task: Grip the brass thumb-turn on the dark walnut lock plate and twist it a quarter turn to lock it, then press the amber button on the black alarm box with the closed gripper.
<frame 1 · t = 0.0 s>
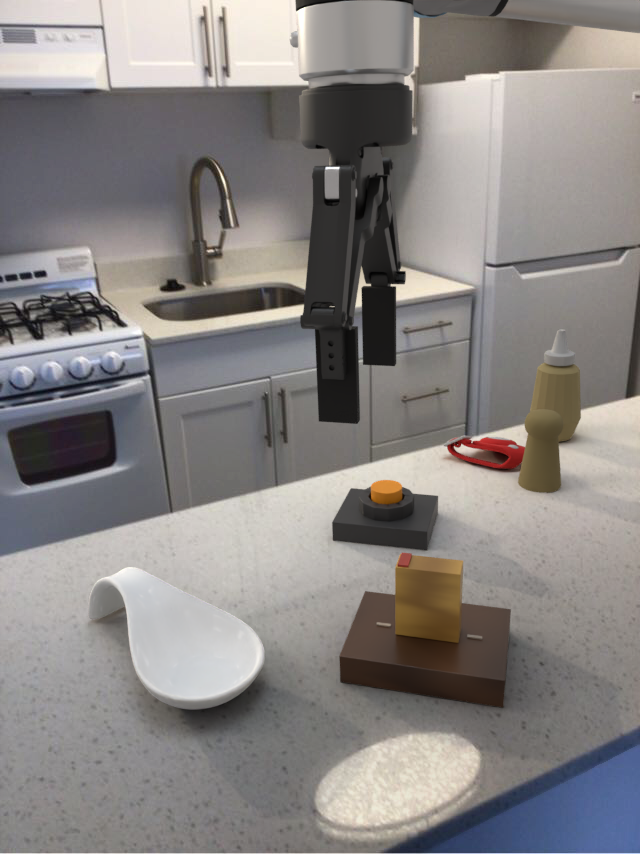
hand: (361, 390, 57), 30 cm above the worktop, tool pointing down, fingers open, 13 cm apart
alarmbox: (386, 526, 99), on the worktop
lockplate: (428, 656, 74), on the worktop
alarm button: (386, 492, 97), point 5 cm above the worktop, slide at 0.1 cm
squeeze bottle: (553, 437, 125), on the worktop
spoon rest: (167, 660, 75), on the worktop
red looped piece: (486, 459, 118), on the worktop
thumbturn: (428, 596, 72), point 7 cm above the worktop, hinge at 0.0°
tan pawn: (539, 485, 109), on the worktop
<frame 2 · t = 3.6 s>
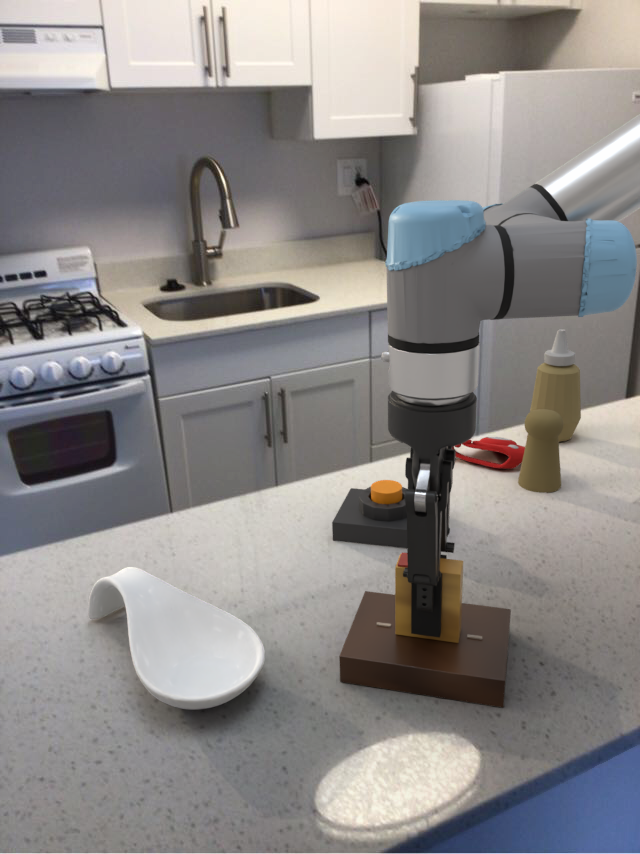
hand: (428, 622, 73), 4 cm above the worktop, tool pointing down, fingers closed on thumbturn, 2 cm apart
thumbturn: (428, 596, 72), point 7 cm above the worktop, hinge at 0.0°, touching gripper
everything else where it was.
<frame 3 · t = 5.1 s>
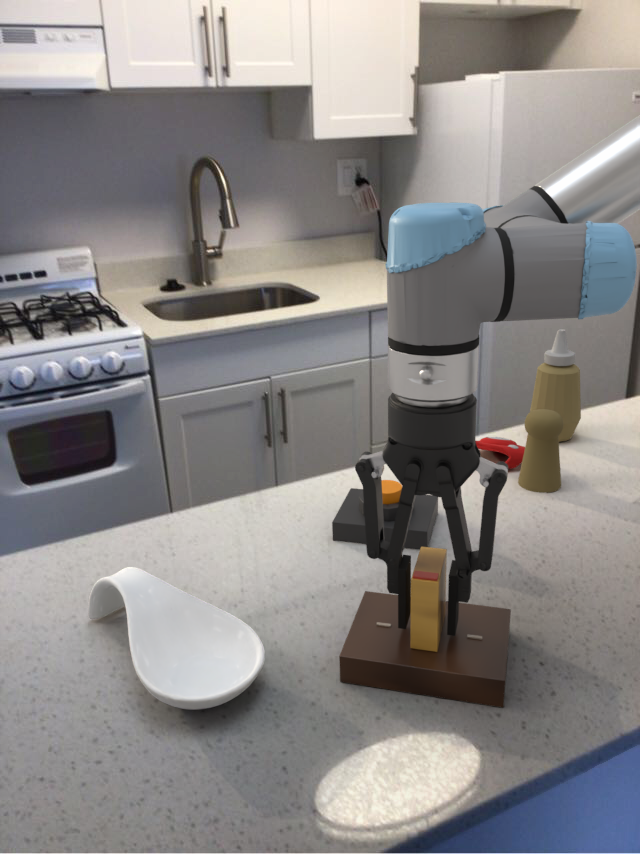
hand: (428, 623, 73), 4 cm above the worktop, tool pointing down, fingers open, 4 cm apart
thumbturn: (428, 596, 72), point 7 cm above the worktop, hinge at 90.0°
everything else where it was.
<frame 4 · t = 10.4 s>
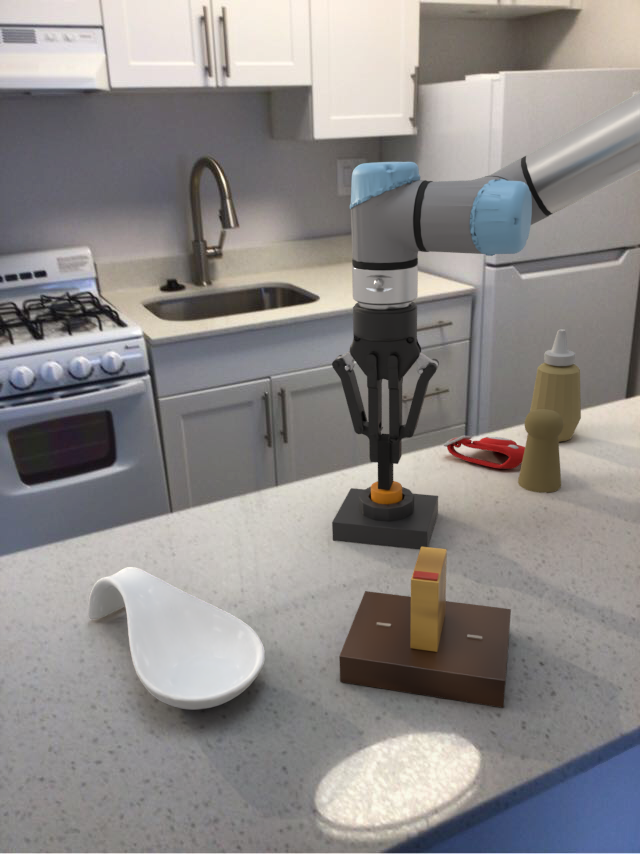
hand: (385, 484, 97), 6 cm above the worktop, tool pointing down, fingers closed
alarm button: (386, 492, 97), point 5 cm above the worktop, slide at 0.1 cm, touching gripper
everything else where it was.
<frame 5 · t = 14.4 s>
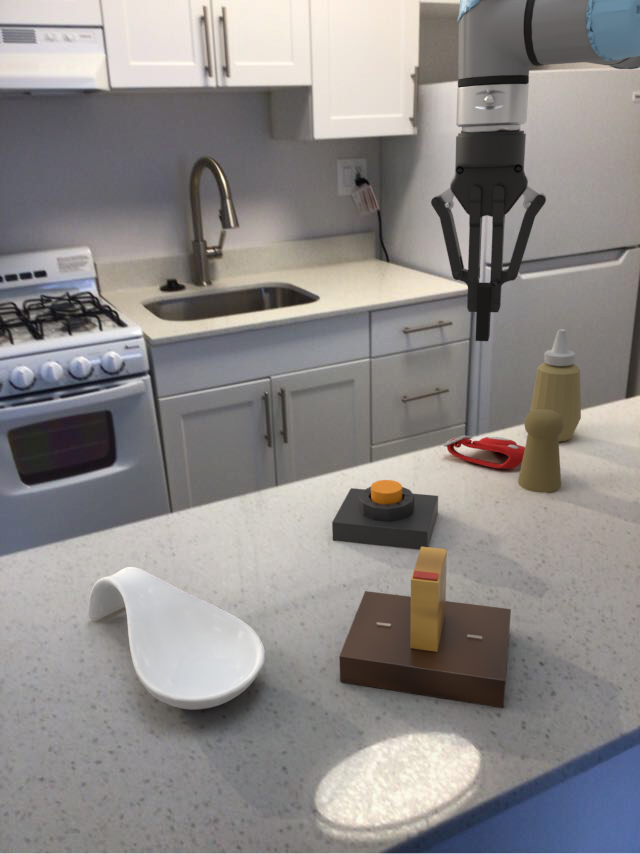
hand: (482, 338, 92), 24 cm above the worktop, tool pointing down, fingers closed
alarm button: (386, 492, 97), point 5 cm above the worktop, slide at 0.1 cm
everything else where it was.
at the end: thumbturn at +90° (first picture: +0°); alarm button pushed in 1.0 cm at the most during the clip, back to where it started at the end; alarm button slide at 0.1 cm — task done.
